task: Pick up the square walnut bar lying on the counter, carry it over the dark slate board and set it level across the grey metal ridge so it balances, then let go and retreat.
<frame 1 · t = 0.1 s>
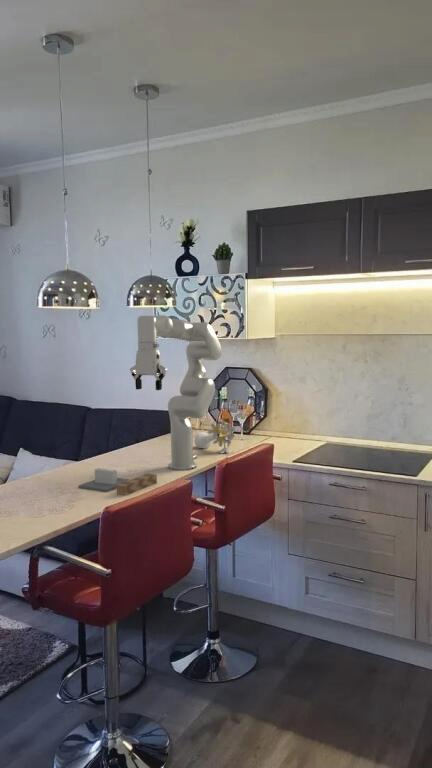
hand: (148, 389, 237), 37 cm above the countertop, tool pointing down, fingers open, 9 cm apart
flower vase: (214, 451, 297), on the countertop
slate board: (106, 485, 233), on the countertop
walnut bar: (137, 489, 227), on the countertop
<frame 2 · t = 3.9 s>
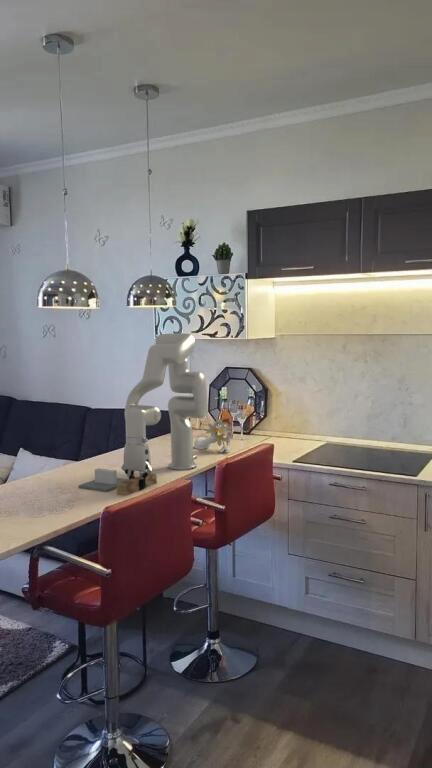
hand: (137, 487, 226), 0 cm above the countertop, tool pointing down, fingers closed on walnut bar, 4 cm apart
walnut bar: (137, 488, 227), on the countertop, touching gripper
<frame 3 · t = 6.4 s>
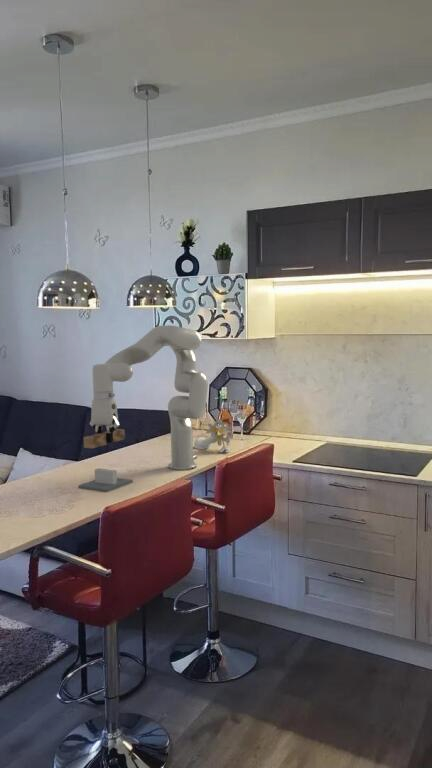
hand: (105, 442, 231), 17 cm above the countertop, tool pointing down, fingers closed on walnut bar, 4 cm apart
walnut bar: (105, 443, 231), point 17 cm above the countertop, touching gripper
when the fingers open (7 cm above the countertop, at t = 9.0 s): walnut bar stays where it is, resting on slate board.
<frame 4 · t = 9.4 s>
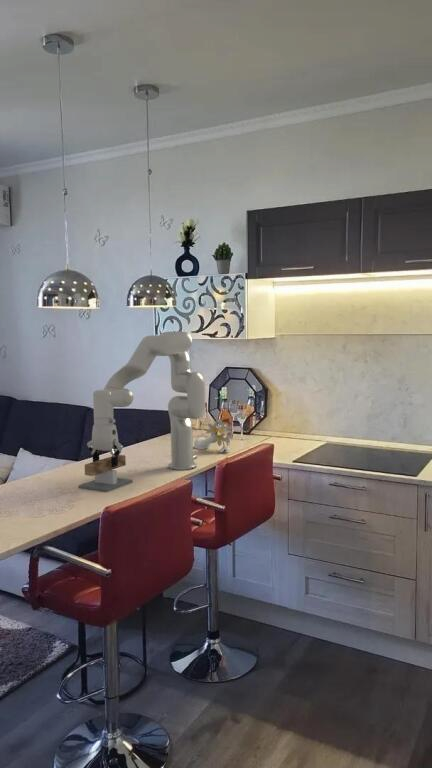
hand: (105, 465, 232), 8 cm above the countertop, tool pointing down, fingers open, 8 cm apart
walnut bar: (106, 469, 232), point 6 cm above the countertop, touching slate board
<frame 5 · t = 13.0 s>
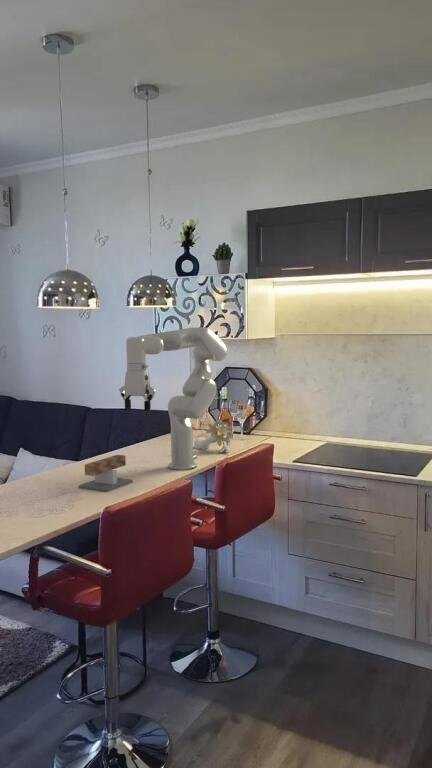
hand: (137, 409, 239), 28 cm above the countertop, tool pointing down, fingers open, 9 cm apart
at the end: walnut bar 0.2 cm off-centre on the slate board, point 6.0 cm above the slate board's base; walnut bar tilted 0°; walnut bar touching slate board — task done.
